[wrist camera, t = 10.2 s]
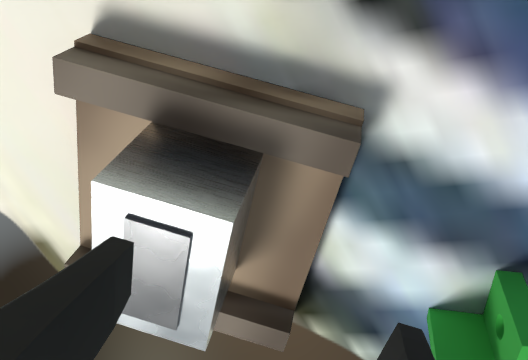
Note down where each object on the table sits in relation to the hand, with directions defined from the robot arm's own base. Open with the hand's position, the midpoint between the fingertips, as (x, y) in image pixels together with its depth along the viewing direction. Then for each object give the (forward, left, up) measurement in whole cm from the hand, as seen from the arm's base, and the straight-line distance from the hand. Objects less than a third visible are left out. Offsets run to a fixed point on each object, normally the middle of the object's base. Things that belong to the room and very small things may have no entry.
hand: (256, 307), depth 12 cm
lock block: (+4, +4, -8) cm, 10 cm away
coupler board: (+4, +4, -9) cm, 11 cm away
